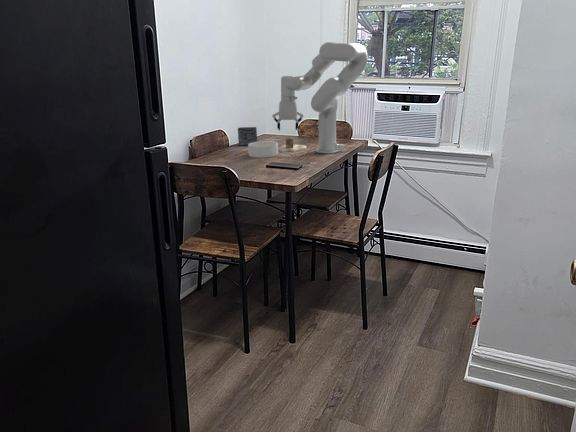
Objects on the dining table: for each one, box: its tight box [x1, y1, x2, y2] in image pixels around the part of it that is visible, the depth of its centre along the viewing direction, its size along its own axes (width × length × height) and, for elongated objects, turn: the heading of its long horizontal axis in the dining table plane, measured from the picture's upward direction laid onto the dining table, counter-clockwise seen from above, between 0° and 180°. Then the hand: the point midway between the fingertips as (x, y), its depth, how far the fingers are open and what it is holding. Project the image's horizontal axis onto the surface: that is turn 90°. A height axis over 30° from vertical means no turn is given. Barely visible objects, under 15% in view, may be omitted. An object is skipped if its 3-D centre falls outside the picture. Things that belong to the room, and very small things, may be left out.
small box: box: [237, 126, 258, 147], centre depth 306 cm, size 11×6×10 cm, turn 84°
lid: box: [278, 137, 307, 153], centre depth 291 cm, size 19×19×6 cm
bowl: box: [247, 140, 279, 159], centre depth 276 cm, size 16×16×6 cm
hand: (287, 130), depth 289 cm, fingers open, 9 cm apart
